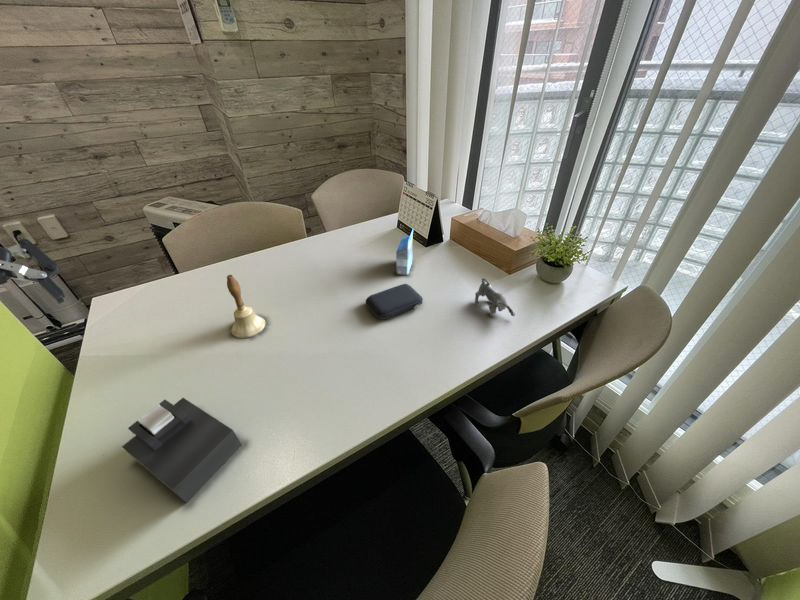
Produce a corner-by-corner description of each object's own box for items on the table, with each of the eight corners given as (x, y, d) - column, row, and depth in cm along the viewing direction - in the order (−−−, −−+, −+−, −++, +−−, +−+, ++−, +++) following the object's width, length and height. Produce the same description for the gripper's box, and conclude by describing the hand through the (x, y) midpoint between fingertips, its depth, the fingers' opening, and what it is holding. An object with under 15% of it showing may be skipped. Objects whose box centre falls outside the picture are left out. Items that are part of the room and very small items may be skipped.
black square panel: (134, 459, 58) (113, 439, 54) (191, 411, 65) (176, 390, 61) (186, 503, 52) (167, 484, 48) (242, 445, 60) (229, 424, 56)
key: (142, 426, 56) (137, 420, 55) (162, 409, 58) (158, 404, 57) (154, 435, 54) (149, 430, 53) (175, 418, 57) (170, 412, 56)
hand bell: (242, 315, 88) (222, 265, 78) (270, 318, 87) (254, 268, 78) (225, 336, 82) (201, 285, 72) (256, 339, 81) (235, 288, 71)
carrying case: (381, 326, 85) (427, 307, 91) (380, 317, 83) (428, 299, 89) (363, 304, 92) (407, 288, 98) (362, 295, 90) (407, 279, 96)
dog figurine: (470, 300, 93) (474, 279, 89) (486, 294, 95) (490, 273, 91) (498, 325, 85) (503, 303, 80) (515, 318, 87) (521, 297, 82)
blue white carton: (401, 259, 111) (401, 226, 103) (412, 261, 110) (413, 227, 102) (396, 274, 104) (395, 239, 96) (408, 275, 103) (408, 240, 95)
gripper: (-174, 237, 37) (-53, 341, 40) (-8, 196, 47) (80, 282, 50) (-137, 264, 43) (-33, 354, 46) (5, 222, 52) (84, 299, 55)
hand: (26, 317), depth 48 cm, fingers open, 8 cm apart
